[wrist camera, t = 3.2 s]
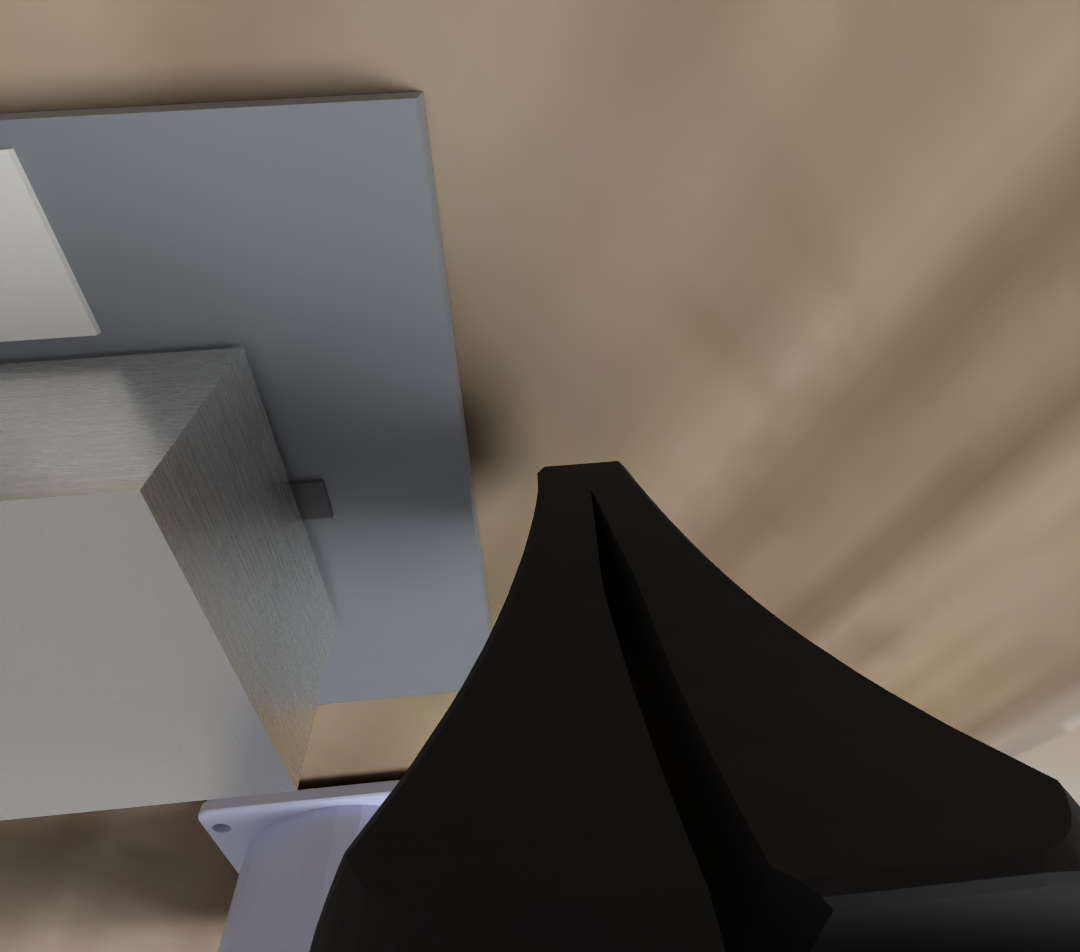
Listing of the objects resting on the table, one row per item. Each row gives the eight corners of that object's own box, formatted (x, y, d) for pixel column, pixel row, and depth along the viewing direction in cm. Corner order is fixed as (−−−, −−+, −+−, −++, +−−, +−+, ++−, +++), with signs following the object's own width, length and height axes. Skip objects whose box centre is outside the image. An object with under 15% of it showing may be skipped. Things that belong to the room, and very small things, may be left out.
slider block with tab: (336, 620, 13) (297, 790, 10) (85, 643, 13) (-30, 823, 10) (145, 63, 7) (-72, 87, 4) (-316, 85, 7) (-862, 128, 4)
